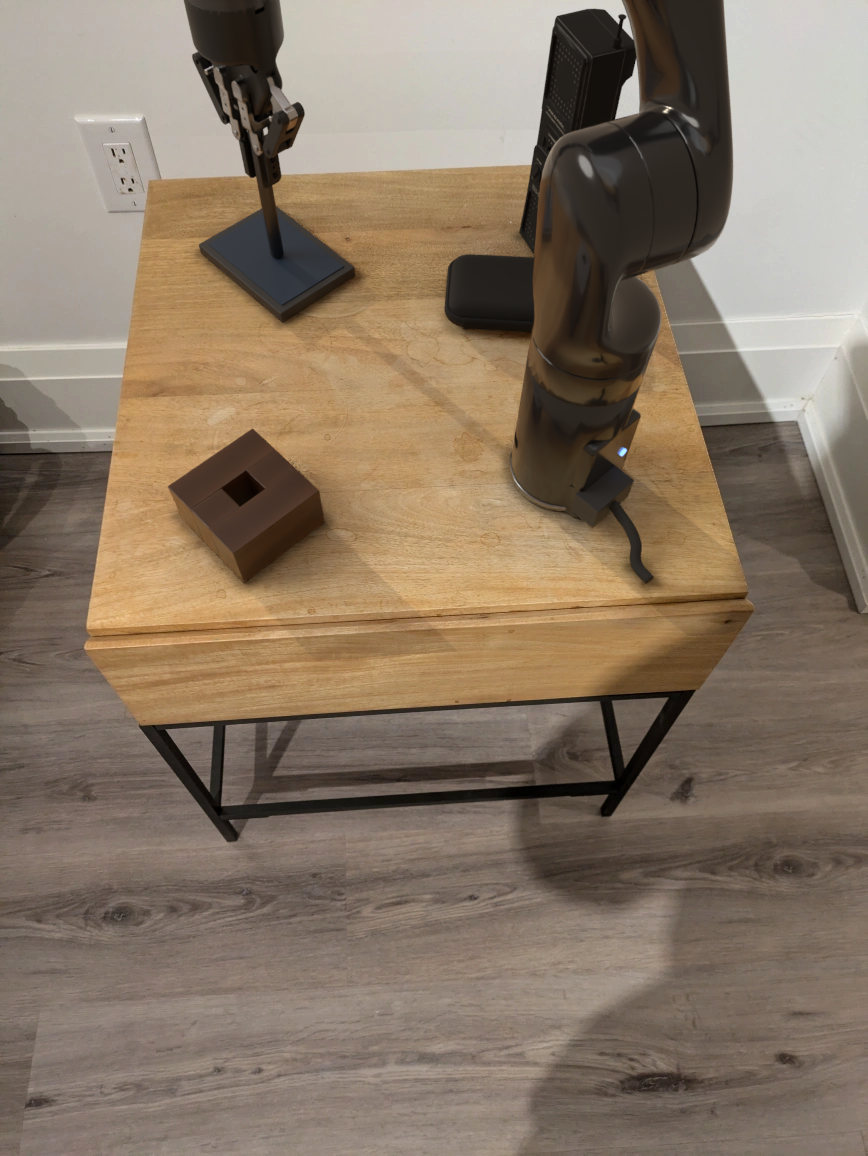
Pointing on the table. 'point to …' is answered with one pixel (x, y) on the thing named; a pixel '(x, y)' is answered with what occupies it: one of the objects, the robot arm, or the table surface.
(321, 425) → the table surface
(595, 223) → the robot arm
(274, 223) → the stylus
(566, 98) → the portable radio
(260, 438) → the pen stand
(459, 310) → the carrying case
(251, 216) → the tablet
